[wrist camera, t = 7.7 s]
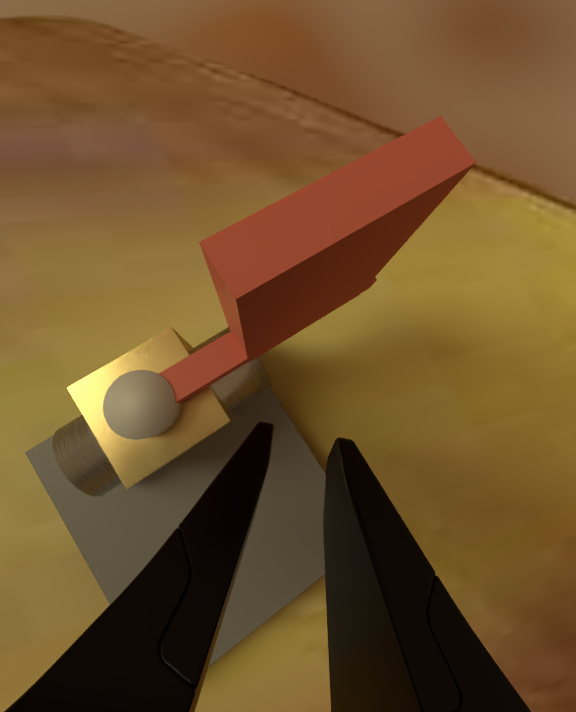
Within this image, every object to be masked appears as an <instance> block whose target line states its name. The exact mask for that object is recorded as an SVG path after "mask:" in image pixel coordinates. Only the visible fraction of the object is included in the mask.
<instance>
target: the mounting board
mask: <svg viewBox="0 0 576 712" xmlns="http://www.w3.org/2000/svg"><path fill="white" fill-rule="evenodd" d="M234 412H235V413H236V415H237V416H238V418H237V419H235V420H234V421H232V422H231V423H229V424H228V425H226V426H225V427H223V428H222V429H220V430H219V431H217V432H216V433H214V434H213V435H211V436H210V437H208V438H207V439H205V440H204V441H202V442H201V443H199V444H197V445H196V446H194V447H193V448H191V449H190V450H188V451H187V452H185V453H184V454H182V455H181V456H179V457H178V458H176V459H175V460H173V461H172V462H170V463H169V464H167V465H166V466H164V467H162V468H161V469H159V470H157V471H156V472H154V473H152V474H151V475H149V476H148V477H146V478H144V479H143V480H141V481H139V482H138V483H136V484H134V485H133V486H131V487H130V488H128V489H126V488H125V487H124V485H123V483H121V484H120V485H118V486H117V487H115V488H114V489H112V490H111V491H109V492H108V493H106V494H105V495H103V496H99V497H94V496H90V495H87V494H85V493H83V492H82V491H80V490H79V489H77V488H76V487H75V486H74V485H73V484H72V483H71V482H70V481H69V480H68V479H67V478H66V476H65V475H64V474H63V472H62V471H61V469H60V467H59V465H58V463H57V461H56V459H55V456H54V452H53V446H52V441H53V436H54V435H53V436H52V437H50V438H48V439H47V440H45V441H43V442H42V443H40V444H38V445H37V446H35V447H33V448H32V449H30V450H28V451H27V452H25V453H26V455H27V457H28V459H29V460H30V462H31V464H32V466H33V468H34V469H35V471H36V473H37V475H38V477H39V478H40V480H41V482H42V484H43V485H44V487H45V489H46V491H47V493H48V494H49V496H50V498H51V500H52V502H53V503H54V505H55V507H56V509H57V511H58V512H59V514H60V516H61V518H62V519H63V521H64V523H65V525H66V527H67V528H68V530H69V532H70V534H71V536H72V537H73V539H74V541H75V543H76V545H77V546H78V548H79V550H80V552H81V553H82V555H83V557H84V559H85V561H86V562H87V564H88V566H89V568H90V570H91V571H92V573H93V575H94V577H95V579H96V580H97V582H98V584H99V586H100V587H101V589H102V591H103V593H104V595H105V596H106V598H107V600H108V602H109V604H111V603H112V602H113V601H114V600H115V599H116V598H117V597H118V596H119V595H120V594H121V593H122V592H123V591H124V589H125V588H126V587H127V586H128V585H129V584H130V583H131V582H132V581H133V580H134V578H135V577H136V576H137V575H138V574H139V573H140V572H141V571H142V570H143V568H144V567H145V566H146V565H147V564H148V562H149V561H150V560H151V559H152V558H153V556H154V555H155V554H156V553H157V551H158V550H159V549H160V548H161V547H162V545H163V544H164V543H165V542H166V540H167V539H168V538H169V536H170V535H171V534H172V532H173V531H174V530H175V529H176V528H178V525H179V524H180V522H181V521H182V520H183V519H184V517H185V516H186V515H187V513H188V512H189V511H190V509H191V508H192V507H193V506H194V504H195V503H196V502H197V500H198V499H199V498H200V497H201V495H202V494H203V493H204V491H205V490H206V489H207V487H208V486H209V485H210V484H211V482H212V481H213V480H214V478H215V477H216V476H217V475H218V473H219V472H220V471H221V469H222V468H223V467H224V465H225V464H226V463H227V462H228V460H229V459H230V458H231V456H232V455H233V454H234V453H235V451H236V450H237V449H238V447H239V446H240V445H241V443H242V442H243V441H244V440H245V438H246V437H247V436H248V434H249V433H250V432H251V431H252V429H253V428H254V427H255V425H256V424H257V423H258V422H259V421H262V422H267V423H272V424H273V425H274V431H273V439H272V447H271V455H270V462H269V466H268V470H267V474H266V477H265V481H264V484H263V488H262V491H261V495H260V499H259V502H258V506H257V509H256V513H255V516H254V520H253V523H252V526H251V529H250V533H249V536H248V539H247V543H246V546H245V549H244V552H243V556H242V559H241V562H240V565H239V569H238V572H237V575H236V578H235V582H234V585H233V588H232V591H231V595H230V598H229V601H228V604H227V608H226V611H225V614H224V617H223V621H222V624H221V627H220V630H219V634H218V637H217V640H216V643H215V647H214V650H213V653H212V656H211V660H210V663H209V666H210V665H211V664H213V663H214V662H215V661H216V660H218V659H219V658H220V657H221V656H223V655H224V654H225V653H226V652H228V651H229V650H230V649H231V648H233V647H234V646H235V645H236V644H238V643H239V642H240V641H241V640H243V639H244V638H245V637H246V636H248V635H249V634H250V633H251V632H253V631H254V630H255V629H257V628H258V627H259V626H260V625H262V624H263V623H264V622H265V621H267V620H268V619H269V618H270V617H272V616H273V615H274V614H275V613H277V612H278V611H279V610H280V609H282V608H283V607H284V606H285V605H287V604H288V603H289V602H290V601H292V600H293V599H294V598H295V597H297V596H298V595H299V594H300V593H302V592H303V591H304V590H306V589H307V588H308V587H309V586H311V585H312V584H313V583H314V582H316V581H317V580H318V579H319V578H321V577H322V576H323V575H324V574H325V560H324V537H323V512H324V497H325V482H326V474H325V472H324V470H323V469H322V467H321V466H320V464H319V463H318V461H317V460H316V458H315V457H314V455H313V453H312V452H311V450H310V449H309V447H308V446H307V444H306V443H305V441H304V440H303V438H302V437H301V435H300V433H299V432H298V430H297V429H296V427H295V426H294V424H293V423H292V421H291V420H290V418H289V416H288V415H287V413H286V412H285V410H284V409H283V407H282V406H281V404H280V403H279V401H278V400H277V398H276V396H275V395H274V393H273V392H272V390H271V389H270V387H269V388H267V389H265V390H264V391H262V392H261V393H259V394H258V395H256V396H255V397H253V398H252V399H250V400H249V401H247V402H246V403H244V404H242V405H241V406H239V407H238V408H236V409H235V410H234ZM209 666H208V667H209Z"/></svg>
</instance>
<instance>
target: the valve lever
mask: <svg viewBox="0 0 576 712" xmlns="http://www.w3.org/2000/svg"><path fill="white" fill-rule="evenodd" d="M475 163H476V162H475V161H474V159H473V158H472V157H471V155H470V154H469V153H468V152H467V150H466V149H465V148H464V146H463V145H462V144H461V142H460V141H459V139H458V138H457V137H456V136H455V134H454V133H453V131H452V130H451V129H450V128H449V126H448V125H447V124H446V122H445V121H444V120H443V118H442V117H441V116H439V117H438V118H436V119H434V120H432V121H430V122H428V123H426V124H424V125H422V126H420V127H418V128H417V129H415V130H413V131H411V132H409V133H407V134H405V135H403V136H401V137H399V138H397V139H396V140H394V141H392V142H390V143H388V144H386V145H384V146H382V147H380V148H378V149H376V150H375V151H373V152H371V153H369V154H367V155H365V156H363V157H361V158H359V159H357V160H355V161H354V162H352V163H350V164H348V165H346V166H344V167H342V168H340V169H338V170H336V171H334V172H333V173H331V174H329V175H327V176H325V177H323V178H321V179H319V180H317V181H315V182H313V183H311V184H310V185H308V186H306V187H304V188H302V189H300V190H298V191H296V192H294V193H292V194H290V195H289V196H287V197H285V198H283V199H281V200H279V201H277V202H275V203H273V204H271V205H269V206H268V207H266V208H264V209H262V210H260V211H258V212H256V213H254V214H252V215H250V216H248V217H247V218H245V219H243V220H241V221H239V222H237V223H235V224H233V225H231V226H229V227H227V228H226V229H224V230H222V231H220V232H218V233H216V234H214V235H212V236H210V237H208V238H206V239H205V240H203V241H201V242H199V243H200V246H201V248H202V251H203V254H204V257H205V260H206V263H207V266H208V268H209V271H210V274H211V277H212V280H213V283H214V286H215V289H216V291H217V294H218V297H219V300H220V303H221V306H222V309H223V311H224V314H225V317H226V320H227V323H228V326H229V329H230V332H229V333H227V334H225V335H223V336H222V337H220V338H218V339H217V340H215V341H213V342H212V343H210V344H208V345H206V346H205V347H203V348H201V349H200V350H198V351H196V352H194V353H193V354H191V355H189V356H188V357H186V358H184V359H183V360H181V361H179V362H177V363H176V364H174V365H172V366H171V367H169V368H167V369H165V370H164V371H162V372H160V373H159V374H158V373H156V372H153V371H149V370H134V371H130V372H127V373H125V374H123V375H121V376H120V377H118V378H117V379H116V380H115V381H114V382H113V383H112V384H111V385H110V387H109V388H108V390H107V392H106V394H105V397H104V401H103V413H104V417H105V420H106V422H107V424H108V425H109V427H110V428H111V429H112V430H113V431H114V432H115V433H116V434H118V435H120V436H122V437H124V438H127V439H132V440H140V439H146V438H150V437H153V436H157V435H160V434H162V433H164V432H166V431H167V430H168V429H170V428H171V427H172V426H173V424H174V423H175V422H176V420H177V419H178V417H179V414H180V411H181V405H182V402H184V401H185V400H187V399H189V398H190V397H192V396H194V395H195V394H197V393H199V392H200V391H202V390H203V389H205V388H207V387H208V386H210V385H212V384H213V383H215V382H217V381H218V380H220V379H221V378H223V377H225V376H226V375H228V374H230V373H231V372H233V371H235V370H236V369H238V368H239V367H241V366H243V365H244V364H246V363H249V362H250V361H252V360H254V359H255V358H257V357H258V356H260V355H262V354H263V353H265V352H267V351H268V350H270V349H272V348H273V347H275V346H276V345H278V344H280V343H281V342H283V341H285V340H286V339H288V338H290V337H291V336H293V335H294V334H296V333H298V332H299V331H301V330H303V329H304V328H306V327H307V326H309V325H311V324H312V323H314V322H316V321H317V320H319V319H321V318H322V317H324V316H325V315H327V314H329V313H330V312H332V311H334V310H335V309H337V308H339V307H340V306H342V305H343V304H345V303H347V302H348V301H350V300H352V299H353V298H355V297H357V296H358V295H359V294H361V293H362V292H364V291H365V290H367V289H369V288H370V287H371V286H372V285H373V284H374V282H375V281H376V280H377V279H376V278H375V276H376V275H377V274H378V273H379V272H380V271H381V269H382V268H383V267H384V266H385V265H386V264H387V263H388V261H389V260H390V259H391V258H392V257H393V256H394V255H395V254H396V252H397V251H398V250H399V249H400V248H401V247H402V246H403V245H404V243H405V242H406V241H407V240H408V239H409V238H410V237H411V235H412V234H413V233H414V232H415V231H416V230H417V229H418V228H419V226H420V225H421V224H422V223H423V222H424V221H425V220H426V219H427V217H428V216H429V215H430V214H431V213H432V212H433V211H434V209H435V208H436V207H437V206H438V205H439V204H440V203H441V202H442V200H443V199H444V198H445V197H446V196H447V195H448V194H449V193H450V191H451V190H452V189H453V188H454V187H455V186H456V185H457V183H458V182H459V181H460V180H461V179H462V178H463V177H464V176H465V174H466V173H467V172H468V171H469V170H470V169H471V168H472V167H473V165H474V164H475Z"/></svg>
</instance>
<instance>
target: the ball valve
mask: <svg viewBox="0 0 576 712" xmlns="http://www.w3.org/2000/svg"><path fill="white" fill-rule="evenodd" d="M229 332H230V329H229V327H228V328H226V329H224V330H223V331H221V332H219V333H218V334H216V335H214V336H213V337H211V338H209V339H208V340H206V341H204V342H203V343H201V344H199V345H198V346H196V347H194V348H193V347H192V346H191V345H190V344H189V343H188V342H187V341H185V340H184V339H183V338H182V337H181V336H180V335H179V334H178V333H177V332H176V331H175V330H174V329H173V328H172V327H171V328H169V329H167V330H165V331H164V332H162V333H160V334H159V335H157V336H155V337H153V338H152V339H150V340H148V341H146V342H145V343H143V344H141V345H140V346H138V347H136V348H134V349H133V350H131V351H129V352H128V353H126V354H124V355H122V356H121V357H119V358H117V359H115V360H114V361H112V362H110V363H109V364H107V365H105V366H103V367H102V368H100V369H98V370H96V371H95V372H93V373H91V374H90V375H88V376H86V377H84V378H83V379H81V380H79V381H78V382H76V383H74V384H72V385H71V386H69V387H67V389H68V391H69V392H70V394H71V396H72V398H73V399H74V401H75V403H76V404H77V406H78V408H79V410H80V411H81V413H82V415H81V416H79V417H78V418H76V419H74V420H73V421H71V422H69V423H68V424H66V425H64V426H63V427H61V428H59V429H58V430H57V431H56V432H55V434H54V436H53V441H52V446H53V452H54V456H55V459H56V461H57V463H58V465H59V467H60V469H61V471H62V472H63V474H64V475H65V476H66V478H67V479H68V480H69V481H70V482H71V483H72V484H73V485H74V486H75V487H76V488H77V489H79V490H80V491H82V492H83V493H85V494H87V495H90V496H94V497H99V496H103V495H105V494H106V493H108V492H109V491H111V490H112V489H114V488H115V487H117V486H118V485H120V484H121V483H123V485H124V487H125V488H126V489H128V488H130V487H131V486H133V485H134V484H136V483H138V482H139V481H141V480H143V479H144V478H146V477H148V476H149V475H151V474H152V473H154V472H156V471H157V470H159V469H161V468H162V467H164V466H166V465H167V464H169V463H170V462H172V461H173V460H175V459H176V458H178V457H179V456H181V455H182V454H184V453H185V452H187V451H188V450H190V449H191V448H193V447H194V446H196V445H197V444H199V443H201V442H202V441H204V440H205V439H207V438H208V437H210V436H211V435H213V434H214V433H216V432H217V431H219V430H220V429H222V428H223V427H225V426H226V425H228V424H229V423H231V422H232V421H234V420H235V419H237V418H238V416H237V415H236V413H235V412H234V410H235V409H236V408H238V407H239V406H241V405H242V404H244V403H246V402H247V401H249V400H250V399H252V398H253V397H255V396H256V395H258V394H259V393H261V392H262V391H264V390H265V389H267V388H269V387H270V386H271V382H270V380H269V378H268V376H267V374H266V373H265V371H264V369H263V367H262V366H261V364H260V362H259V361H258V359H257V358H255V359H254V360H252V361H250V362H249V363H246V364H244V365H243V366H241V367H239V368H238V369H236V370H235V371H233V372H231V373H230V374H228V375H226V376H225V377H223V378H221V379H220V380H218V381H217V382H215V383H213V384H212V385H210V386H208V387H207V388H205V389H203V390H202V391H200V392H199V393H197V394H195V395H194V396H192V397H190V398H189V399H187V400H185V401H184V402H182V405H181V411H180V414H179V417H178V419H177V420H176V422H175V423H174V424H173V426H172V427H171V428H170V429H168V430H167V431H166V432H164V433H162V434H160V435H157V436H153V437H150V438H146V439H140V440H132V439H127V438H124V437H122V436H120V435H118V434H116V433H115V432H114V431H113V430H112V429H111V428H110V427H109V425H108V424H107V422H106V420H105V417H104V413H103V401H104V397H105V394H106V392H107V390H108V388H109V387H110V385H111V384H112V383H113V382H114V381H115V380H116V379H117V378H118V377H120V376H121V375H123V374H125V373H127V372H130V371H134V370H149V371H153V372H156V373H158V374H159V373H160V372H162V371H164V370H165V369H167V368H169V367H171V366H172V365H174V364H176V363H177V362H179V361H181V360H183V359H184V358H186V357H188V356H189V355H191V354H193V353H194V352H196V351H198V350H200V349H201V348H203V347H205V346H206V345H208V344H210V343H212V342H213V341H215V340H217V339H218V338H220V337H222V336H223V335H225V334H227V333H229Z"/></svg>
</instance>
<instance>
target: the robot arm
mask: <svg viewBox="0 0 576 712" xmlns="http://www.w3.org/2000/svg"><path fill="white" fill-rule="evenodd" d="M273 431H274V425H273V424H272V423H267V422H262V421H259V422H258V423H257V424H256V425H255V427H254V428H253V429H252V431H251V432H250V433H249V434H248V436H247V437H246V438H245V440H244V441H243V442H242V443H241V445H240V446H239V447H238V449H237V450H236V451H235V453H234V454H233V455H232V456H231V458H230V459H229V460H228V462H227V463H226V464H225V465H224V467H223V468H222V469H221V471H220V472H219V473H218V475H217V476H216V477H215V478H214V480H213V481H212V482H211V484H210V485H209V486H208V487H207V489H206V490H205V491H204V493H203V494H202V495H201V497H200V498H199V499H198V500H197V502H196V503H195V504H194V506H193V507H192V508H191V509H190V511H189V512H188V513H187V515H186V516H185V517H184V519H183V520H182V521H181V522H180V524H179V525H178V528H176V529H175V530H174V531H173V532H172V534H171V535H170V536H169V538H168V539H167V540H166V542H165V543H164V544H163V545H162V547H161V548H160V549H159V550H158V551H157V553H156V554H155V555H154V556H153V558H152V559H151V560H150V561H149V562H148V564H147V565H146V566H145V567H144V568H143V570H142V571H141V572H140V573H139V574H138V575H137V576H136V577H135V578H134V580H133V581H132V582H131V583H130V584H129V585H128V586H127V587H126V588H125V589H124V591H123V592H122V593H121V594H120V595H119V596H118V597H117V598H116V599H115V600H114V601H113V602H112V603H111V604H110V605H109V607H108V608H107V609H106V610H105V611H104V612H103V613H102V614H101V615H100V616H99V617H98V618H97V619H96V620H95V621H94V622H93V623H92V624H91V625H90V626H89V628H88V629H87V630H86V631H85V632H84V633H83V634H82V635H81V636H80V637H79V638H78V639H77V640H76V641H75V642H74V643H73V644H72V645H71V646H70V647H69V649H68V650H67V651H66V652H65V653H64V654H63V655H62V656H61V657H60V658H59V659H58V660H57V661H56V662H55V663H54V664H53V665H52V666H51V667H50V668H49V669H48V670H47V671H46V672H45V673H44V674H43V675H42V676H41V677H40V678H39V679H38V680H37V681H36V682H35V683H34V684H33V685H32V686H31V687H30V688H29V689H28V690H27V691H26V692H25V693H24V694H23V695H22V696H21V697H20V698H19V699H18V700H16V701H15V702H14V703H13V704H12V705H11V706H10V707H9V708H8V709H7V710H5V711H4V712H195V708H196V705H197V702H198V699H199V695H200V692H201V689H202V686H203V682H204V679H205V676H206V673H207V669H208V666H209V663H210V660H211V656H212V653H213V650H214V647H215V643H216V640H217V637H218V634H219V630H220V627H221V624H222V621H223V617H224V614H225V611H226V608H227V604H228V601H229V598H230V595H231V591H232V588H233V585H234V582H235V578H236V575H237V572H238V569H239V565H240V562H241V559H242V556H243V552H244V549H245V546H246V543H247V539H248V536H249V533H250V529H251V526H252V523H253V520H254V516H255V513H256V509H257V506H258V502H259V499H260V495H261V491H262V488H263V484H264V481H265V477H266V474H267V470H268V466H269V462H270V455H271V447H272V439H273ZM323 537H324V560H325V582H326V605H327V627H328V649H329V672H330V694H331V712H531V711H530V710H529V708H528V707H527V705H526V704H525V703H524V701H523V700H522V698H521V697H520V696H519V694H518V693H517V692H516V690H515V689H514V687H513V686H512V685H511V683H510V682H509V681H508V679H507V678H506V676H505V675H504V674H503V672H502V671H501V669H500V668H499V667H498V665H497V664H496V663H495V661H494V660H493V658H492V657H491V656H490V654H489V653H488V651H487V650H486V648H485V647H484V646H483V644H482V643H481V641H480V640H479V638H478V637H477V636H476V634H475V633H474V631H473V630H472V628H471V627H470V626H469V624H468V623H467V621H466V619H465V618H464V616H463V615H462V613H461V612H460V610H459V609H458V607H457V606H456V604H455V603H454V601H453V599H452V598H451V596H450V595H449V593H448V592H447V590H446V588H445V587H444V585H443V584H442V582H441V580H440V579H439V577H438V576H435V571H434V569H433V568H432V566H431V565H430V563H429V561H428V560H427V558H426V557H425V555H424V553H423V552H422V550H421V549H420V547H419V545H418V544H417V542H416V541H415V539H414V537H413V536H412V534H411V533H410V531H409V529H408V528H407V526H406V525H405V523H404V521H403V520H402V518H401V517H400V515H399V513H398V512H397V510H396V509H395V507H394V505H393V504H392V502H391V501H390V499H389V497H388V496H387V494H386V493H385V491H384V489H383V488H382V486H381V485H380V483H379V481H378V480H377V478H376V476H375V475H374V473H373V472H372V470H371V468H370V467H369V465H368V464H367V462H366V460H365V459H364V457H363V456H362V454H361V452H360V451H359V449H358V448H357V446H356V444H355V443H354V442H353V441H352V440H350V439H345V438H340V437H339V438H337V439H336V440H335V443H334V445H333V447H332V449H331V452H330V454H329V456H328V460H327V467H326V482H325V497H324V512H323Z"/></svg>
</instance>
